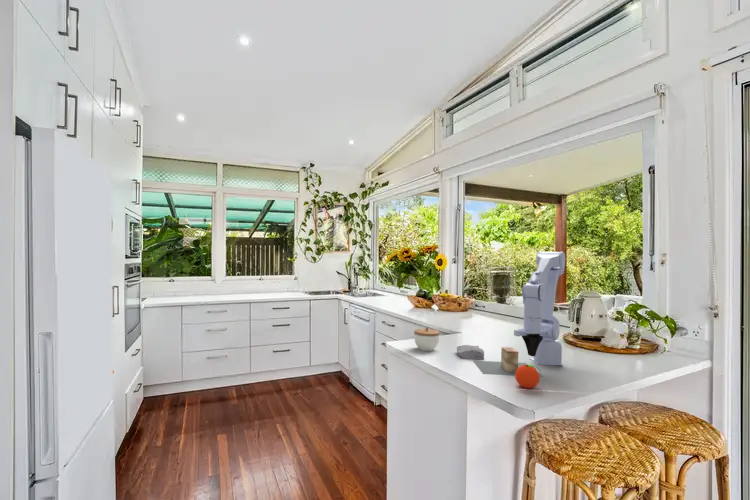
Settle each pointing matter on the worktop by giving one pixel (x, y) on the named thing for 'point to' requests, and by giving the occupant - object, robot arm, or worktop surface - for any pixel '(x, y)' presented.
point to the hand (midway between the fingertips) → (531, 355)
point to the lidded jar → (426, 339)
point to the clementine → (527, 376)
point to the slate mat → (495, 368)
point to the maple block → (509, 359)
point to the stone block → (470, 352)
